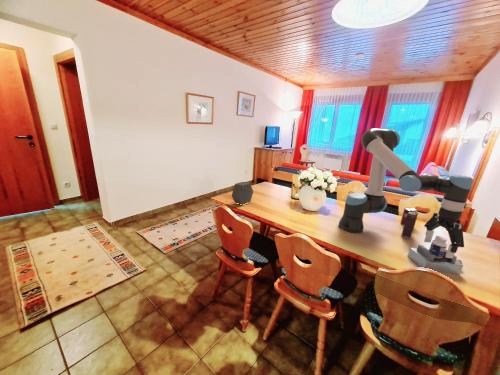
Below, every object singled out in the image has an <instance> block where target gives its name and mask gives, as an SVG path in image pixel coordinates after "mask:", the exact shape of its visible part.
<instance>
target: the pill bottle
mask: <svg viewBox="0 0 500 375" xmlns="http://www.w3.org/2000/svg"><path fill="white" fill-rule="evenodd" d="M447 248H448V244H447V238H446V237H444V236H440V235H436V236H435V237H434V239H433V240H431V243H430V246H429V251H430V252H432V253H433V254H434V255H435V258H443V255H444V252H445V250H447Z"/></svg>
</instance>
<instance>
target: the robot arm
mask: <svg viewBox="0 0 500 375" xmlns="http://www.w3.org/2000/svg"><path fill="white" fill-rule="evenodd" d="M360 141H361V145H362V147H363V148H364V150H366V151H367V153H371V154H372V155H373V156H372V160H371V167H370V173H369V179H368V184H367V189H366V190H365V191H364V192H363V193H360V192H352V193H348V194H347V195H346V199H345V201H344V202H345V203H344V210H343V214H342V216H341V217H340V220H339V221H338V227H339V228H340V229H341V230H343V231H345V232H348V233H352V234H361V233H363V231H364V221H363V219H364V214H378V213H382V212H383V211H385V209H387V206H388V200H387V197H386V196H385V193H384V192H383V190H384V184H385V180H386V175H387V170H388V171H389V172H391V174H392V175H393V176H394V177H395V178H396V179H397V180H398V185H399V188H400V189H401V190H402V191H405V192H411V193H412V192H413V193H415V192H435V193H436V192H437V193H440V194H443V197H442V199H441V204H440V207H439V210H438V212H434V213H433V214H432V217H430V218H429V220H428V221H427V222H425V224H424V225H423V226H424V228H426V232H425V237H424V240H423V242H424V243H430V244H431V243H432V241H433V240H432V238H433V236H434V233H435V230H436V229H437V228H439V227H442V228H444V229H445V230H446V231H447V233H448V237H449V240H450V242H451V243H450V244H449V245H448V246H447V249H446V250H447V253H446V256H445V257H446V258H453V256H454V255H455V254H456V253H457V251H458V248H465V242H464V224H462V223H458V221H459V220H460V219H461V217H462V215H463V211H464V209H465V205H466V204H467V201H468V200H467V199H468V197H469V194H470V192H471V190H472V186H473V182H474V179H473V178H472V177H471V176H466V175H460V174H452V175H450V176H449V177H444V176H440V175H435V174H434V173H433V174H432V173H423V174H418V173H417V172H416V171H415V170H414V169H412V168H411V167H410V166H409V165H408V164H407V163H406V162H405V161H404V160H403V159H402V158H400V157H399V156H398V154H396V153H395V152H394V149H395V148H397V147H398V145H400V142H401V136H400V134H399V133H398V131H397V130H394V129H389V128H370V129H368V130H366V131H365V132H364V133H363V134H362V136H361V140H360Z"/></svg>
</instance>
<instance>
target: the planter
mask: <svg viewBox="0 0 500 375" xmlns="http://www.w3.org/2000/svg"><path fill="white" fill-rule="evenodd" d="M253 194H254V189H253V187H252V184H251V183H250V182H247V181H240V182H236V183H235V184H234V186H233V189H232V193H231V197H232V199H233V201H234V203H235V202H236V203H239V204H242V205H243V204H245V203H247V202H250V203H251V202H252V199H253V198H252V197H253ZM236 203H235V204H236ZM239 204H238V205H239ZM242 205H241V206H242Z"/></svg>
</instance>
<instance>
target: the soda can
mask: <svg viewBox="0 0 500 375" xmlns="http://www.w3.org/2000/svg"><path fill="white" fill-rule="evenodd" d="M409 210H411V211H415V212H418V210H417V209H416V208H413V207H404V208H403V212H402V216H401V220H400V225H402V226H404V225H405V222H406V218H407V215H408V213H409Z"/></svg>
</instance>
